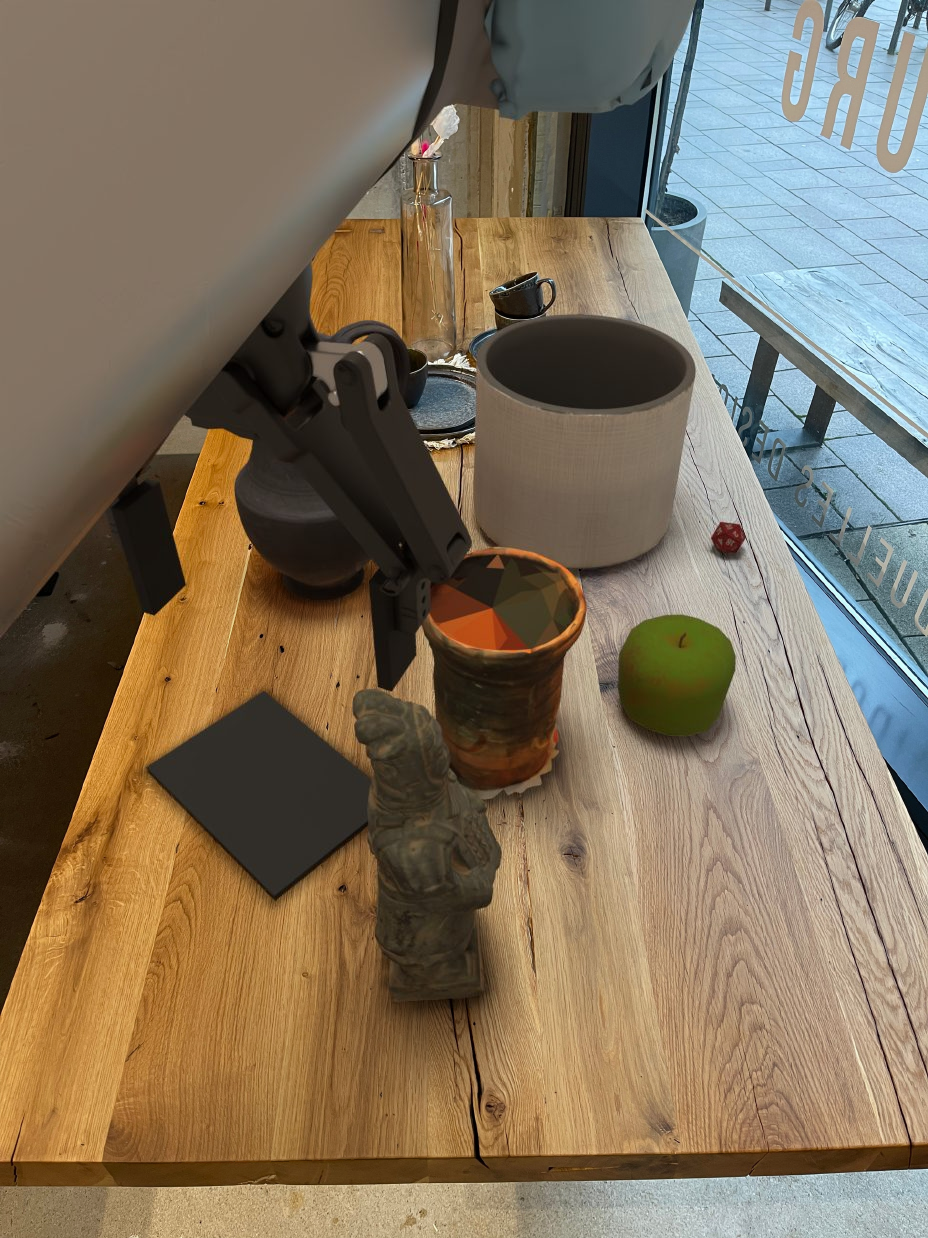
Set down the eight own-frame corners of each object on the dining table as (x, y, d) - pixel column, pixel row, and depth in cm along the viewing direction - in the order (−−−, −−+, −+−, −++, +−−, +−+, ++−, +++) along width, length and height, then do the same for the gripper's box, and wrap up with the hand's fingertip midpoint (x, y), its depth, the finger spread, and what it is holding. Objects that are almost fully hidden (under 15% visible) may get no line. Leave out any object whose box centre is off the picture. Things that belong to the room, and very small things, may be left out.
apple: (710, 671, 98) (730, 594, 91) (731, 749, 90) (755, 671, 83) (607, 670, 98) (618, 593, 91) (618, 748, 90) (632, 671, 83)
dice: (703, 541, 115) (709, 515, 112) (738, 540, 115) (745, 514, 113) (711, 560, 112) (717, 534, 110) (747, 559, 113) (754, 533, 110)
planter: (624, 453, 131) (644, 302, 116) (702, 559, 112) (738, 397, 98) (452, 478, 126) (450, 324, 111) (504, 593, 108) (511, 428, 93)
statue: (501, 1024, 70) (515, 779, 50) (378, 1027, 70) (343, 782, 50) (494, 894, 78) (504, 638, 58) (385, 896, 78) (357, 640, 58)
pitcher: (234, 556, 113) (185, 323, 93) (388, 511, 120) (374, 286, 100) (280, 641, 101) (235, 397, 81) (447, 586, 109) (444, 349, 89)
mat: (395, 802, 85) (395, 798, 85) (275, 899, 78) (274, 896, 77) (264, 694, 96) (264, 690, 95) (147, 771, 88) (145, 767, 88)
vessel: (581, 802, 85) (603, 647, 72) (429, 814, 84) (422, 659, 71) (556, 691, 96) (571, 538, 83) (420, 700, 95) (413, 546, 82)
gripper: (568, 199, 31) (534, 653, 45) (-2, 121, 38) (123, 533, 52) (484, 278, 26) (476, 763, 40) (-157, 171, 33) (29, 613, 47)
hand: (276, 633), depth 46 cm, fingers open, 13 cm apart
